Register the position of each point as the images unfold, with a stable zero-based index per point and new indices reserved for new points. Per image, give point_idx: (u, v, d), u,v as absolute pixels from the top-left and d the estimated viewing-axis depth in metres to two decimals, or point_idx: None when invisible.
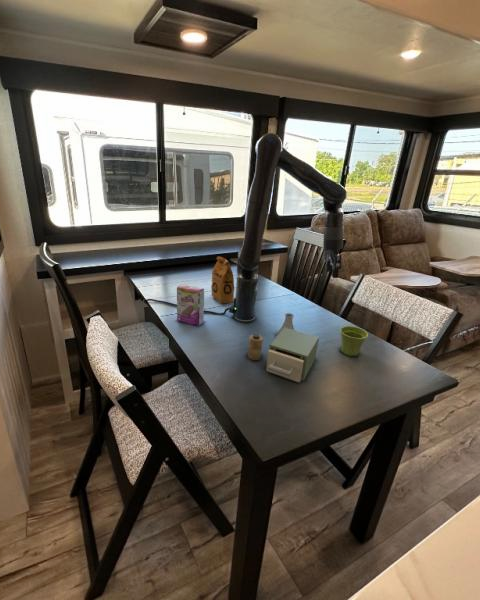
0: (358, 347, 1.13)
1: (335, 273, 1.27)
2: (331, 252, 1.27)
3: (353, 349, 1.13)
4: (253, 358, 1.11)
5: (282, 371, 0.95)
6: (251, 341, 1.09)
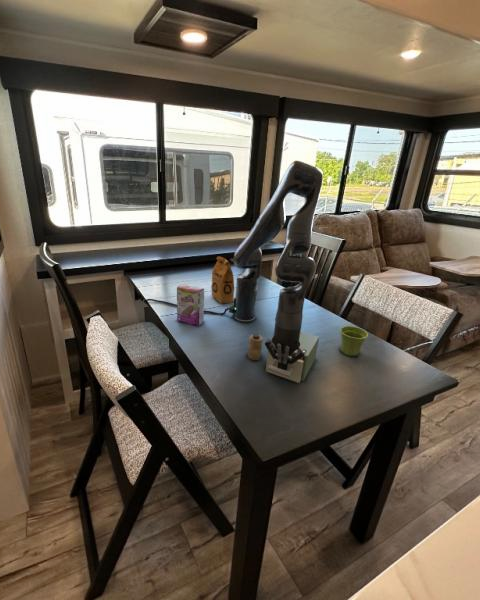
0: (358, 347, 1.13)
1: None
2: None
3: (353, 349, 1.13)
4: (253, 358, 1.11)
5: (282, 372, 0.95)
6: (251, 341, 1.09)
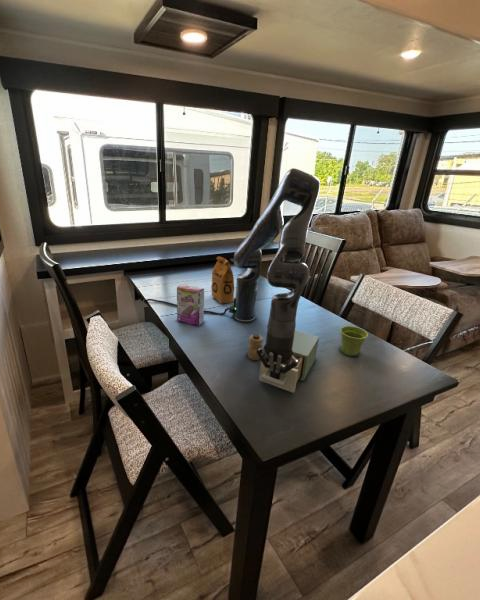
0: (358, 347, 1.13)
1: None
2: None
3: (353, 349, 1.13)
4: (253, 358, 1.11)
5: (275, 381, 0.91)
6: (251, 341, 1.09)
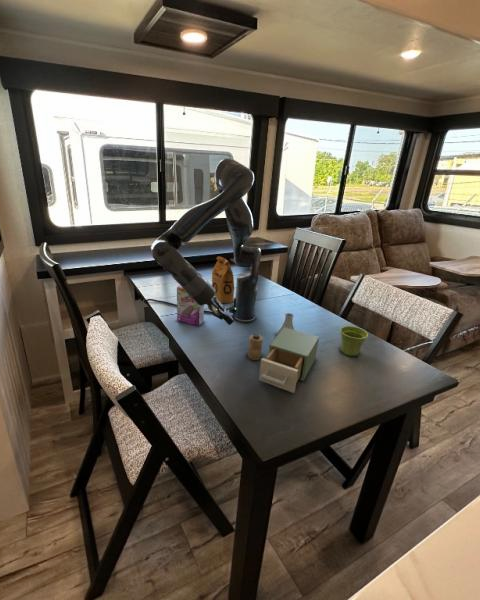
0: (358, 347, 1.13)
1: None
2: None
3: (353, 349, 1.13)
4: (253, 358, 1.11)
5: (275, 381, 0.91)
6: (251, 341, 1.09)
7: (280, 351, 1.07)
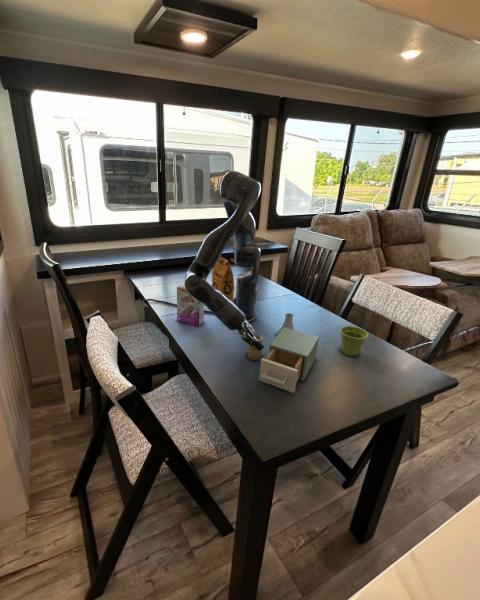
0: (358, 347, 1.13)
1: None
2: None
3: (353, 349, 1.13)
4: (253, 358, 1.11)
5: (275, 381, 0.91)
6: None
7: (280, 351, 1.07)
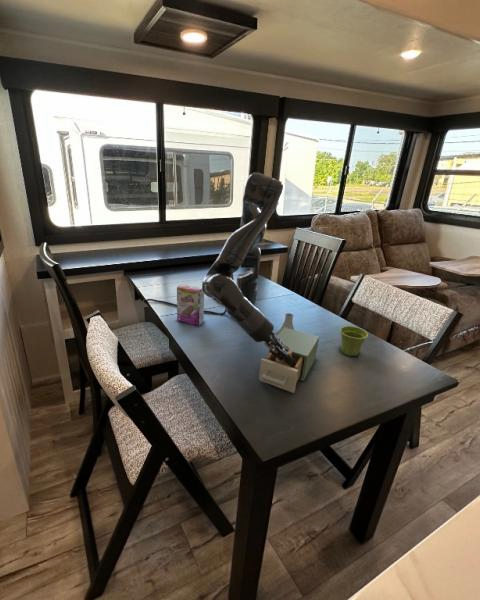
0: (358, 347, 1.13)
1: None
2: None
3: (353, 349, 1.13)
4: None
5: (275, 381, 0.91)
6: None
7: None
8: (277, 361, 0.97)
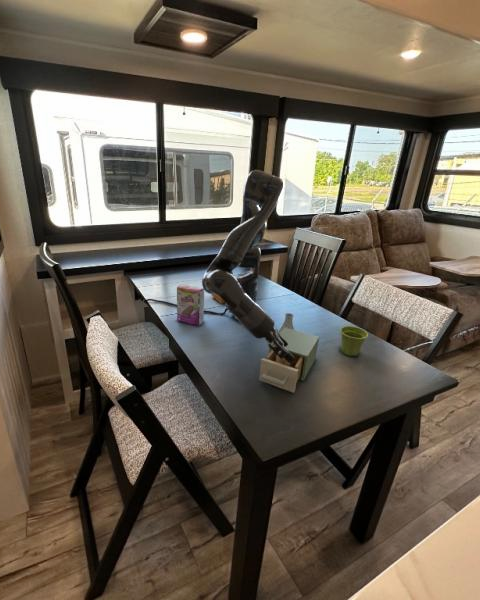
0: (358, 347, 1.13)
1: None
2: None
3: (353, 349, 1.13)
4: None
5: (275, 381, 0.91)
6: (279, 359, 0.96)
7: None
8: None
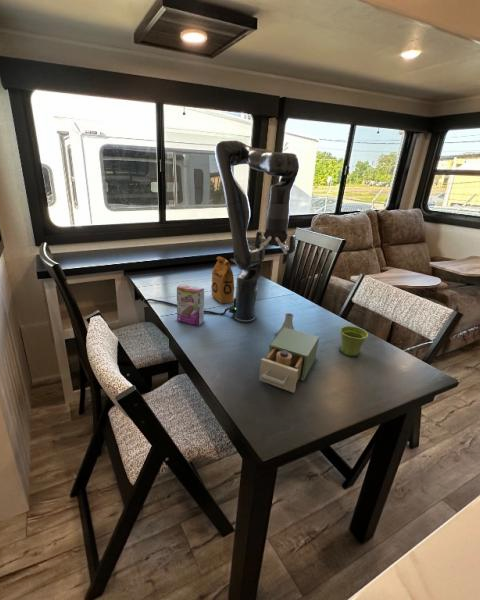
0: (358, 347, 1.13)
1: None
2: None
3: (353, 349, 1.13)
4: None
5: (275, 381, 0.91)
6: (279, 359, 0.96)
7: None
8: None
